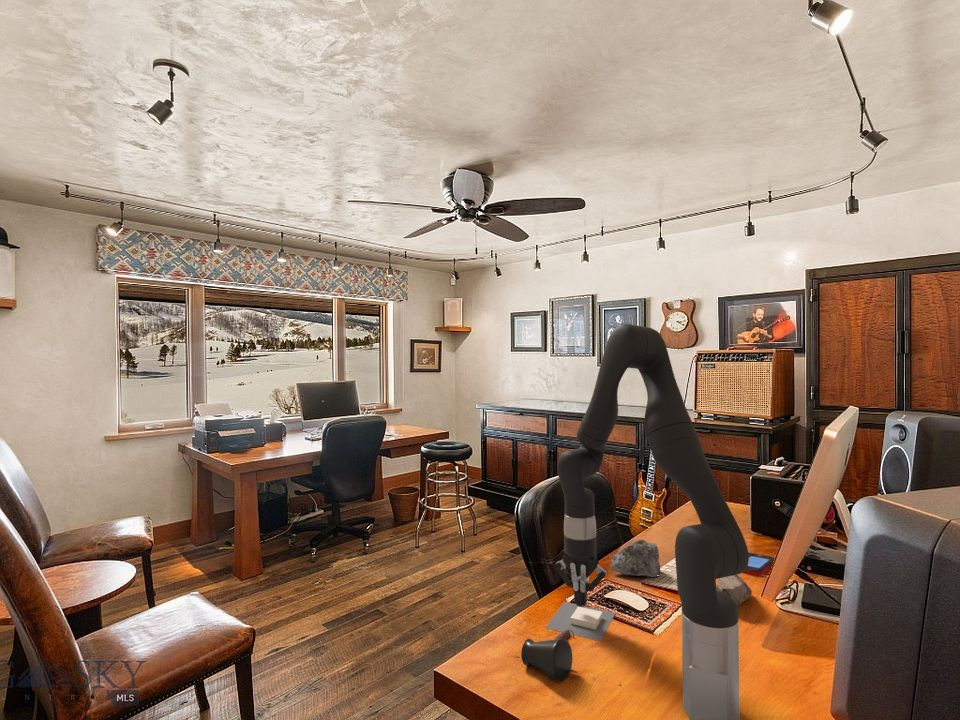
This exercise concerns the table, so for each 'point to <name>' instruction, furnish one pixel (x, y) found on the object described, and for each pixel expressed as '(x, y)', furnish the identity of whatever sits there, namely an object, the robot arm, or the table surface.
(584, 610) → the tile
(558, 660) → the coffee pot
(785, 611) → the table surface
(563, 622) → the mat
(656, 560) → the mineral rock
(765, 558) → the game console
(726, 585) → the stone
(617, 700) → the table surface
